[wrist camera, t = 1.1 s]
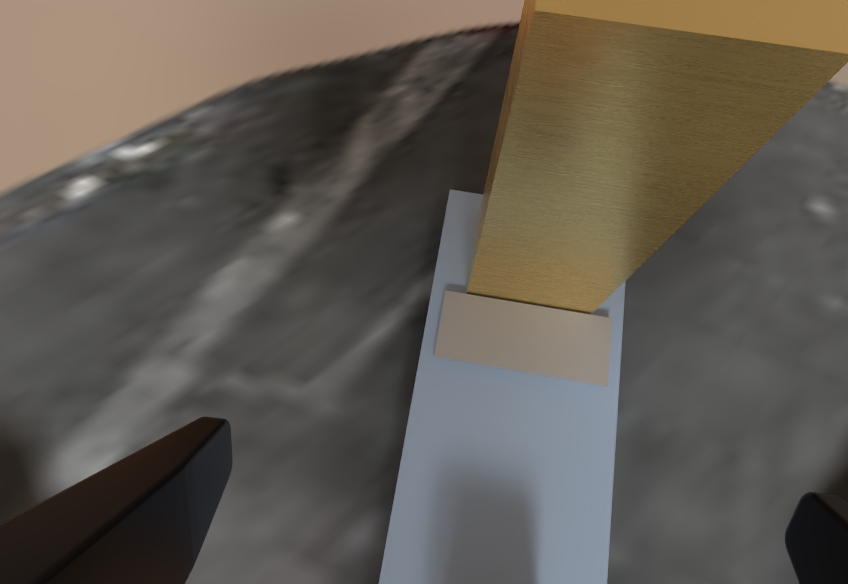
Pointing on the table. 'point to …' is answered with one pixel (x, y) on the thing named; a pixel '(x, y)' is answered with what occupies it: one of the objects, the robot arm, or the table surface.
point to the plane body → (505, 435)
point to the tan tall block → (633, 131)
